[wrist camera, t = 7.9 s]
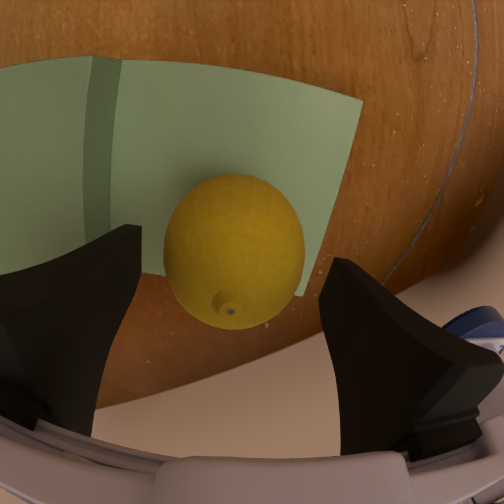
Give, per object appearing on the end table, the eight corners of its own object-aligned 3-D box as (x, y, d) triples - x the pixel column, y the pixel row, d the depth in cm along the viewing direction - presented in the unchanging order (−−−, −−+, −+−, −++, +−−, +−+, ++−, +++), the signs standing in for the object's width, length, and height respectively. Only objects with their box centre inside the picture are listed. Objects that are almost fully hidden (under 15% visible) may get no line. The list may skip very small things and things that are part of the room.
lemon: (305, 176, 15) (359, 260, 8) (267, 264, 17) (282, 380, 11) (199, 142, 14) (153, 199, 7) (173, 238, 16) (132, 347, 10)
